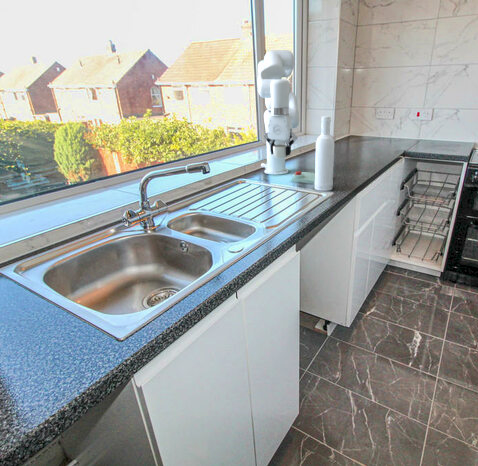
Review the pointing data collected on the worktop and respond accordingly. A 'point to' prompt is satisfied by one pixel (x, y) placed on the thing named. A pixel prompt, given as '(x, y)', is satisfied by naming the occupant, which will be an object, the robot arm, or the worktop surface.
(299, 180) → the scale
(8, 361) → the worktop surface
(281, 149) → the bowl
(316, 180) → the bottle
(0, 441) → the worktop surface
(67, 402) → the worktop surface
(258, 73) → the robot arm
